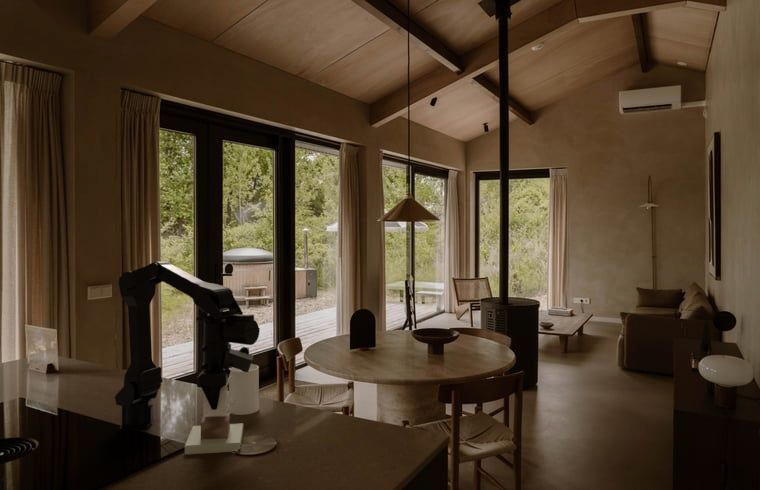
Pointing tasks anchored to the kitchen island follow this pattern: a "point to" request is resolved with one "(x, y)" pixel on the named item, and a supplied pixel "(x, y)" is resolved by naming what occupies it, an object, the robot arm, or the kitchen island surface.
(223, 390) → the ceramic cube
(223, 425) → the walnut block
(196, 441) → the base board
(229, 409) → the mug
